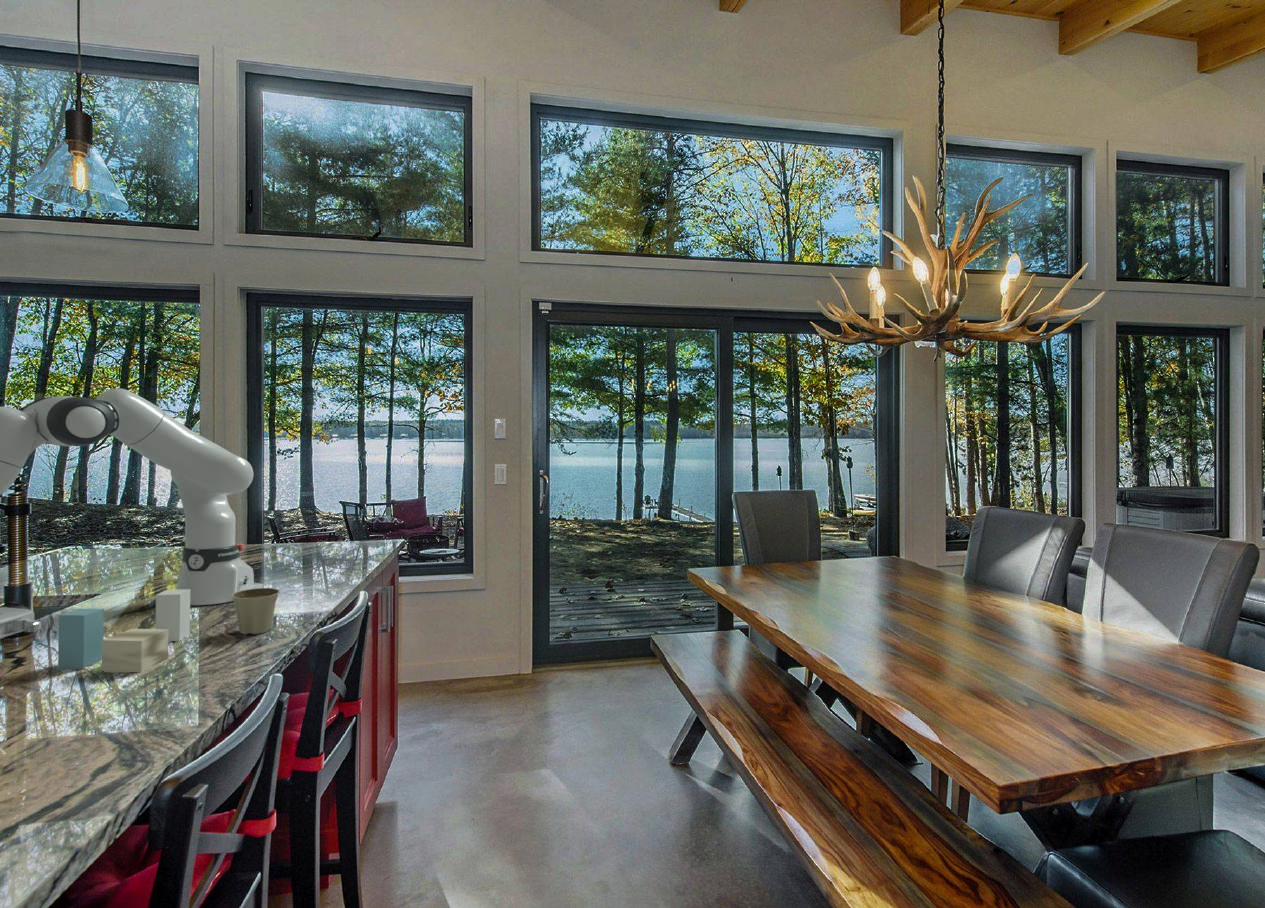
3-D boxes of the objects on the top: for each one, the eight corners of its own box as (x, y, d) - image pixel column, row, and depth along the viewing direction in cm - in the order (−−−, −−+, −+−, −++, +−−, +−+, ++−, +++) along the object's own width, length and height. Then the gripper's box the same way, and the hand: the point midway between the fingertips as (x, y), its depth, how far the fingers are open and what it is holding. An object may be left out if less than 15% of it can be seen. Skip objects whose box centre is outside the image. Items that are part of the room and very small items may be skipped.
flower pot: (256, 639, 134) (257, 599, 134) (219, 635, 136) (220, 596, 136) (289, 626, 144) (289, 589, 143) (254, 623, 145) (254, 586, 145)
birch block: (131, 659, 121) (131, 628, 121) (168, 659, 121) (168, 629, 121) (101, 672, 114) (102, 640, 114) (141, 673, 114) (141, 640, 114)
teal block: (78, 660, 119) (79, 608, 119) (102, 660, 119) (103, 608, 119) (58, 668, 115) (58, 615, 114) (83, 669, 115) (84, 615, 115)
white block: (166, 635, 135) (167, 589, 135) (189, 634, 136) (190, 589, 136) (155, 642, 131) (156, 594, 130) (179, 641, 132) (180, 594, 131)
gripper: (-129, 633, 105) (-43, 634, 106) (-10, 602, 126) (61, 603, 126) (-129, 670, 105) (-44, 671, 106) (-10, 633, 126) (61, 634, 126)
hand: (14, 634), depth 116 cm, fingers open, 8 cm apart
